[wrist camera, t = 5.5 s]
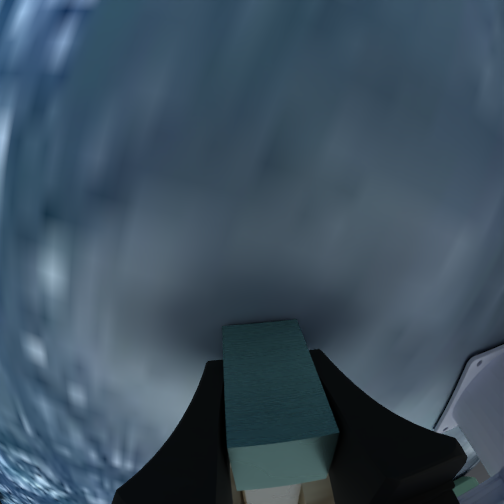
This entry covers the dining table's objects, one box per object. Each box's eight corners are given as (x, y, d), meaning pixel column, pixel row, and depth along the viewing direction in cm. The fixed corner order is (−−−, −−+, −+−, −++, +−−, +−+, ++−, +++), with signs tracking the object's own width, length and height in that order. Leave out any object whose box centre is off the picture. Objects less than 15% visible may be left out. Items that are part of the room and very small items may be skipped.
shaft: (296, 319, 13) (339, 432, 7) (283, 516, 21) (292, 565, 16) (222, 326, 12) (227, 448, 7) (252, 520, 21) (258, 569, 16)
